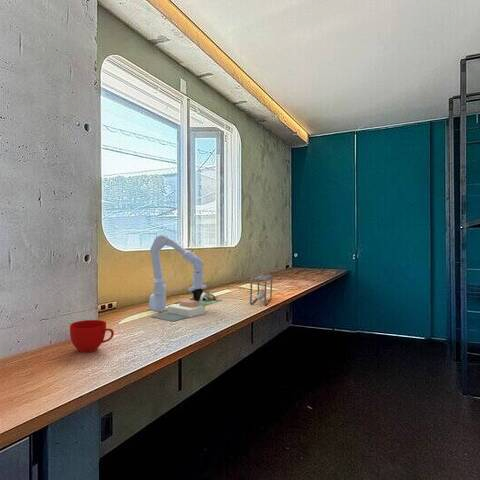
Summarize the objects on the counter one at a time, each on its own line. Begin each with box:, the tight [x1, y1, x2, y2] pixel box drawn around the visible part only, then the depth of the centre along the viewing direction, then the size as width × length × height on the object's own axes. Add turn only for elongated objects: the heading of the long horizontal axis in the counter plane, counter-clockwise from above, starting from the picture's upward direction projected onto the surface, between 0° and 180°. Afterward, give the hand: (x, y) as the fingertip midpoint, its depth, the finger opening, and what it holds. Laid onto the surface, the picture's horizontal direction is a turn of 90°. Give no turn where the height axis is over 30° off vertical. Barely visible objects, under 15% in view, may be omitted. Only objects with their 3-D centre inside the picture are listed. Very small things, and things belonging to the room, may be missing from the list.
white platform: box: [166, 304, 206, 318], centre depth 210 cm, size 16×14×4 cm
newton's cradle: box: [249, 273, 273, 306], centre depth 252 cm, size 30×10×18 cm, turn 168°
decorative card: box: [173, 289, 223, 307], centre depth 246 cm, size 33×8×20 cm
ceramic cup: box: [69, 319, 115, 353], centre depth 141 cm, size 13×17×10 cm
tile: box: [178, 298, 199, 308], centre depth 212 cm, size 9×7×2 cm
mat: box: [150, 312, 189, 323], centre depth 198 cm, size 16×12×1 cm
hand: (197, 301), depth 218 cm, fingers closed
